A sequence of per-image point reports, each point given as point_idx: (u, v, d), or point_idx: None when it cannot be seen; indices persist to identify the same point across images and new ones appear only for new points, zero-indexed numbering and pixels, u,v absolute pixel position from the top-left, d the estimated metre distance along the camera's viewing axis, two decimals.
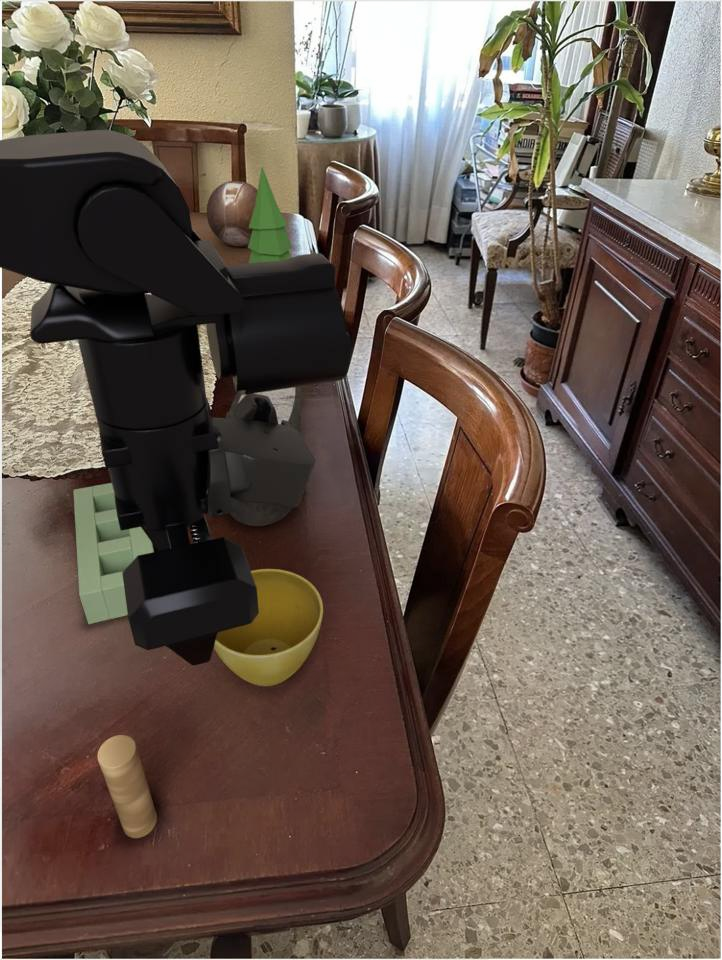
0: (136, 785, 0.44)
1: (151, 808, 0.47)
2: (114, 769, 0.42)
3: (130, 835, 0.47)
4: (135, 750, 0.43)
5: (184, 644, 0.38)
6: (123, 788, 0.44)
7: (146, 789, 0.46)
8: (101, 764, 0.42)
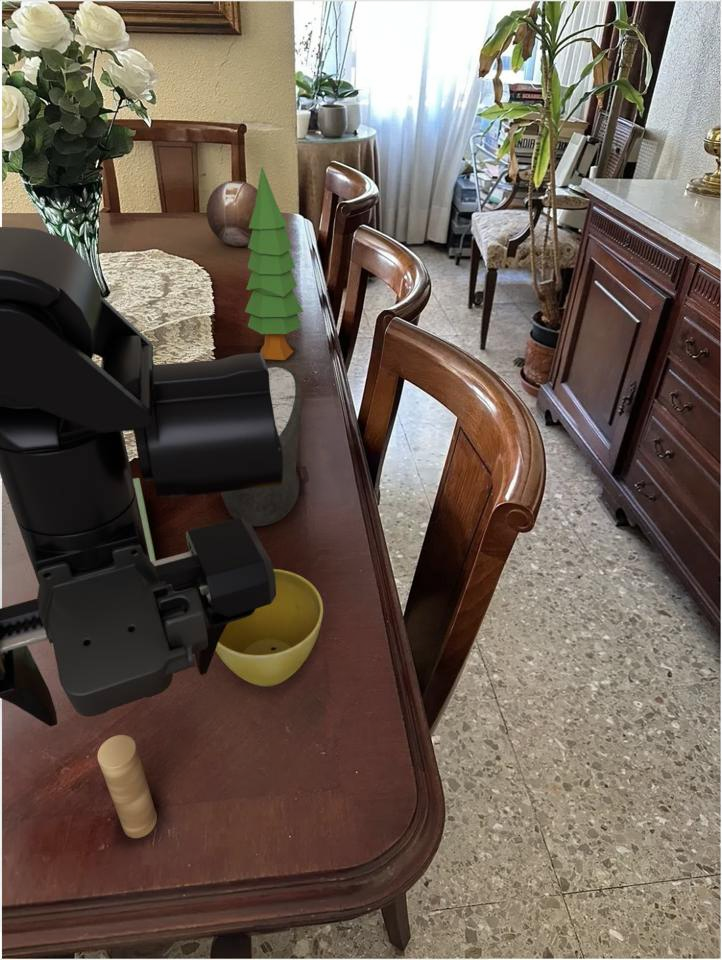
0: (136, 785, 0.44)
1: (151, 808, 0.47)
2: (114, 769, 0.42)
3: (130, 835, 0.47)
4: (135, 750, 0.43)
5: None
6: (123, 788, 0.44)
7: (146, 789, 0.46)
8: (101, 764, 0.42)
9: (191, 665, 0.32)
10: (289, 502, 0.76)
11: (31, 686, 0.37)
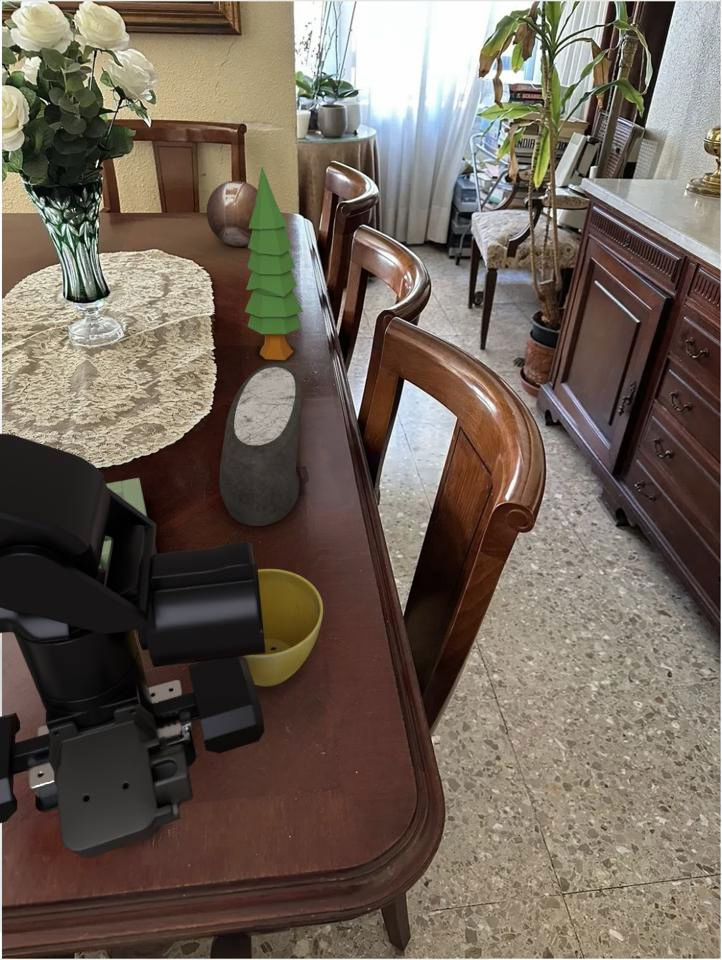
0: None
1: None
2: None
3: None
4: None
5: None
6: None
7: None
8: None
9: (177, 818, 0.36)
10: (289, 502, 0.76)
11: None
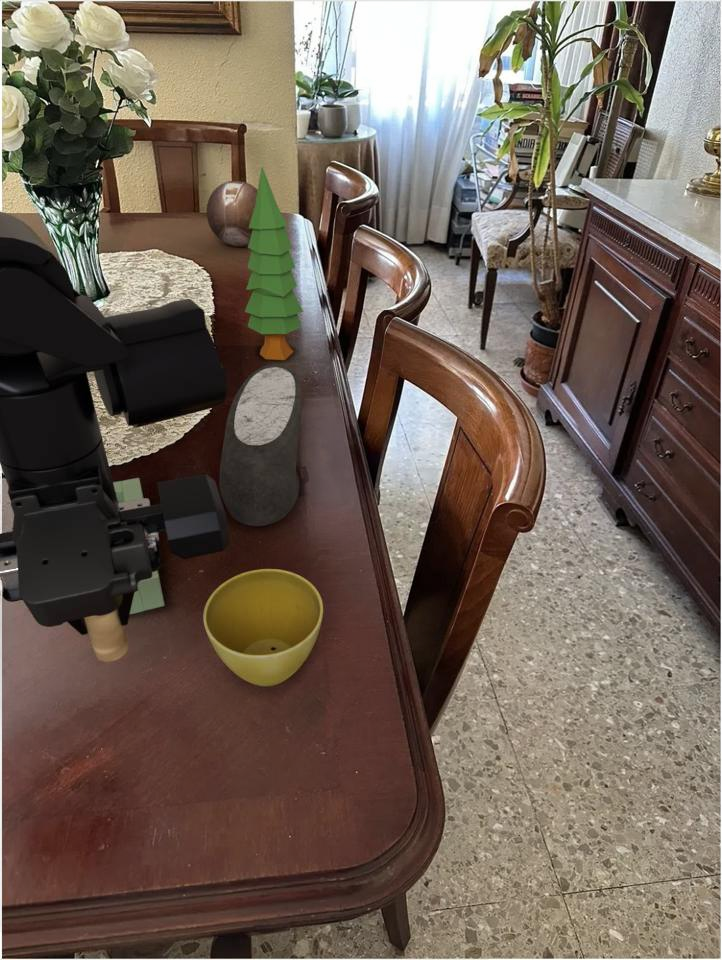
0: None
1: (122, 632, 0.48)
2: None
3: (101, 658, 0.48)
4: None
5: None
6: None
7: None
8: None
9: (134, 589, 0.37)
10: (289, 502, 0.76)
11: None
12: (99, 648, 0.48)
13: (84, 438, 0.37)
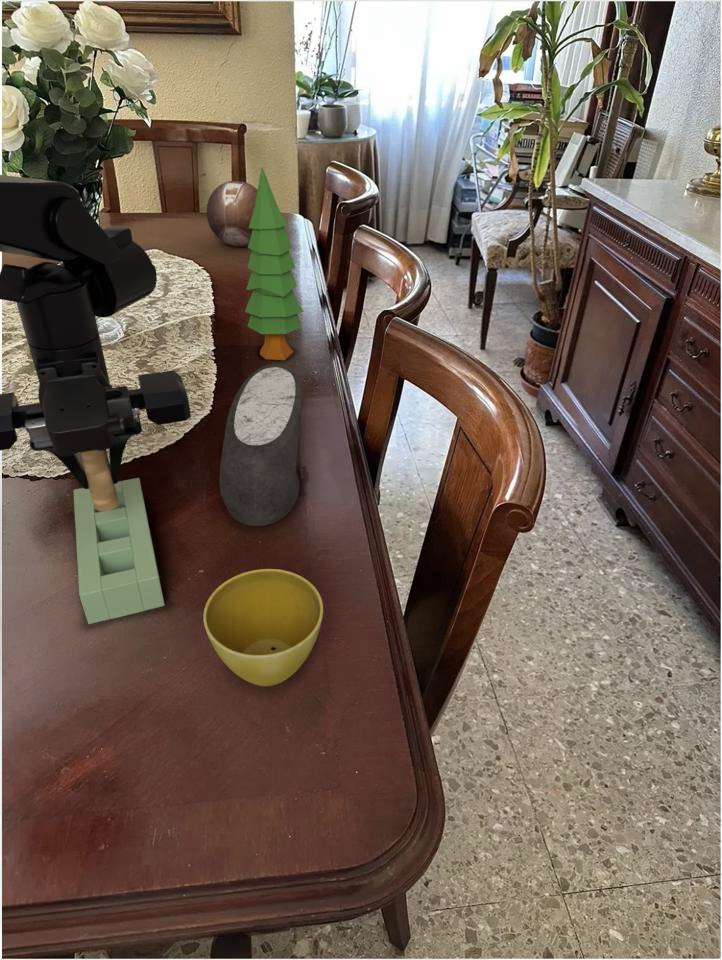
0: (101, 458, 0.63)
1: (113, 488, 0.66)
2: None
3: (98, 508, 0.66)
4: None
5: None
6: (91, 456, 0.62)
7: (109, 468, 0.64)
8: None
9: (122, 430, 0.55)
10: (289, 502, 0.76)
11: (74, 454, 0.62)
12: (97, 499, 0.65)
13: (95, 321, 0.56)
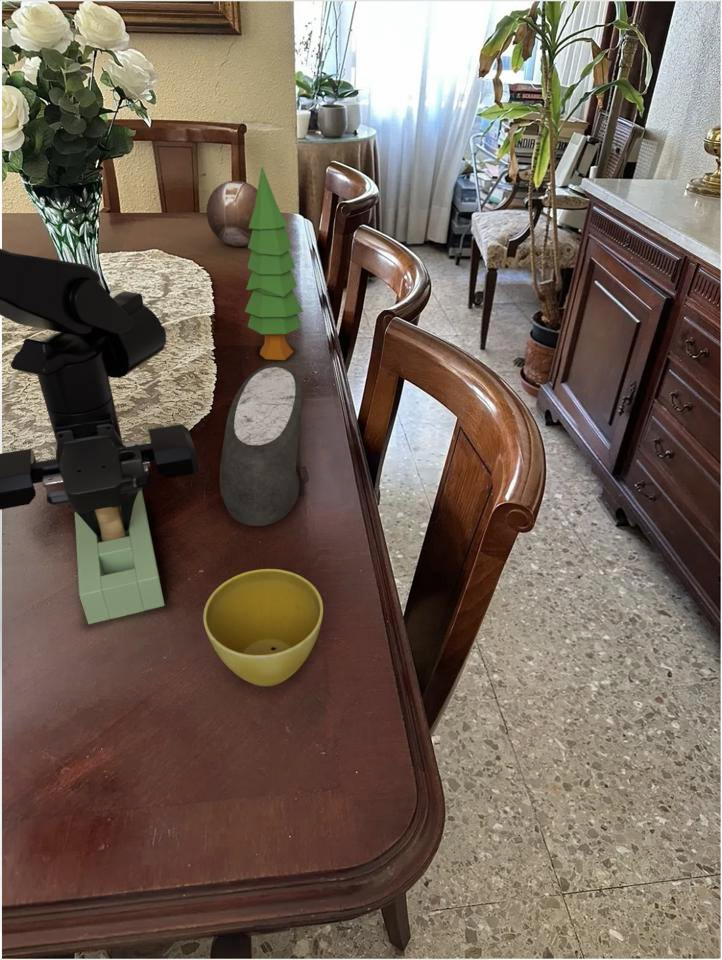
0: (113, 508, 0.67)
1: (124, 535, 0.69)
2: None
3: None
4: None
5: None
6: None
7: (121, 517, 0.68)
8: None
9: (135, 488, 0.58)
10: (289, 502, 0.76)
11: None
12: None
13: (109, 385, 0.60)
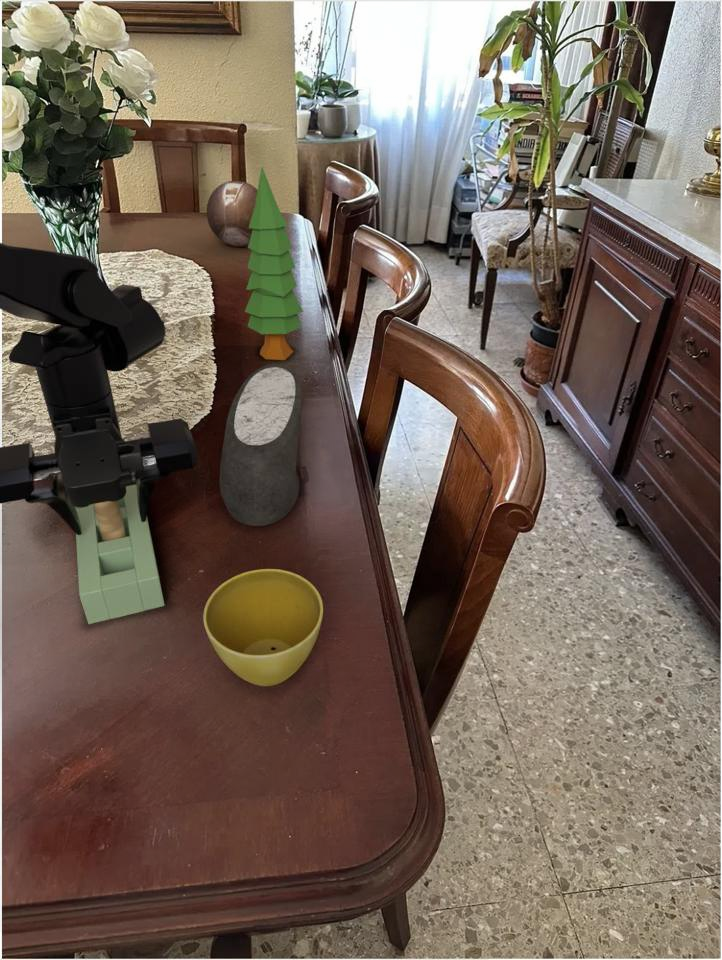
0: (116, 518, 0.67)
1: None
2: None
3: None
4: None
5: None
6: (107, 517, 0.67)
7: (123, 527, 0.69)
8: None
9: (134, 482, 0.58)
10: (289, 502, 0.76)
11: (67, 503, 0.64)
12: None
13: (108, 378, 0.60)
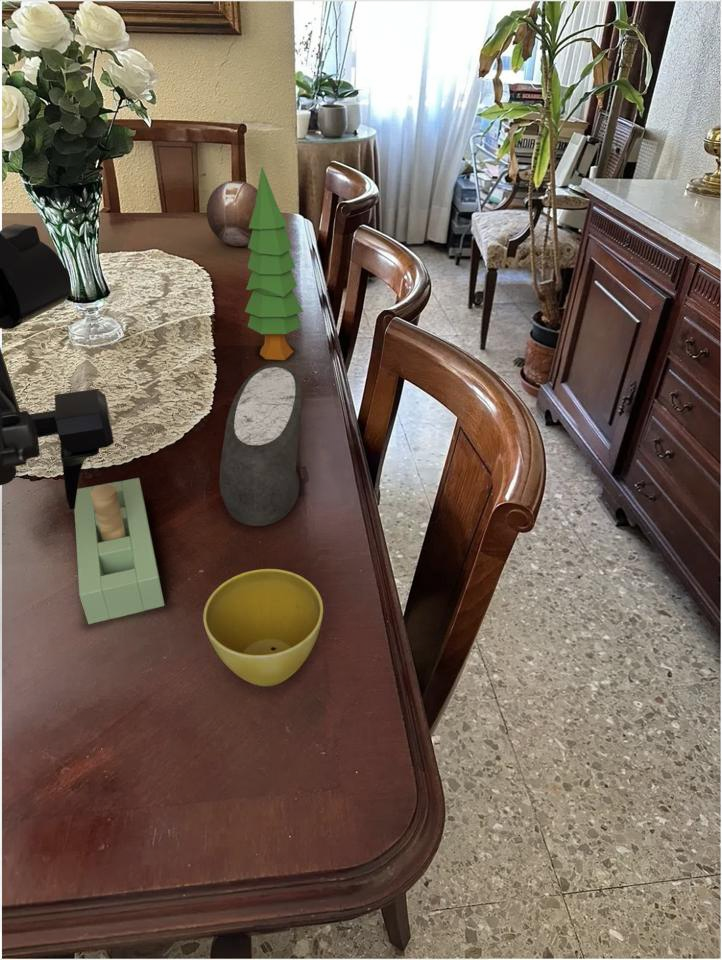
0: (116, 518, 0.67)
1: None
2: (101, 500, 0.65)
3: None
4: (115, 491, 0.66)
5: None
6: (107, 517, 0.67)
7: (123, 527, 0.69)
8: (93, 497, 0.65)
9: (22, 462, 0.47)
10: (289, 502, 0.76)
11: None
12: None
13: None
